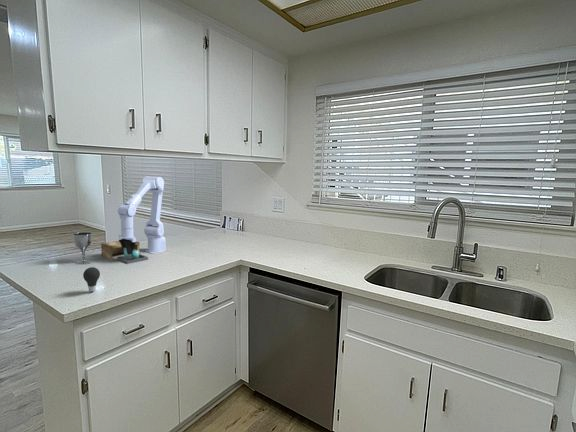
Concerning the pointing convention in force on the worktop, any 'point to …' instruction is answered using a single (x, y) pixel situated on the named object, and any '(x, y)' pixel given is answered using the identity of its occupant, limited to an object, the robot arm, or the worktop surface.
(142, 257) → the tray
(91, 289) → the light bulb
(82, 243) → the wine glass
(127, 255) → the teal rounded capsule
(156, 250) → the robot arm
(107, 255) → the shelf
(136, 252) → the teal rounded cylinder
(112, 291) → the worktop surface
